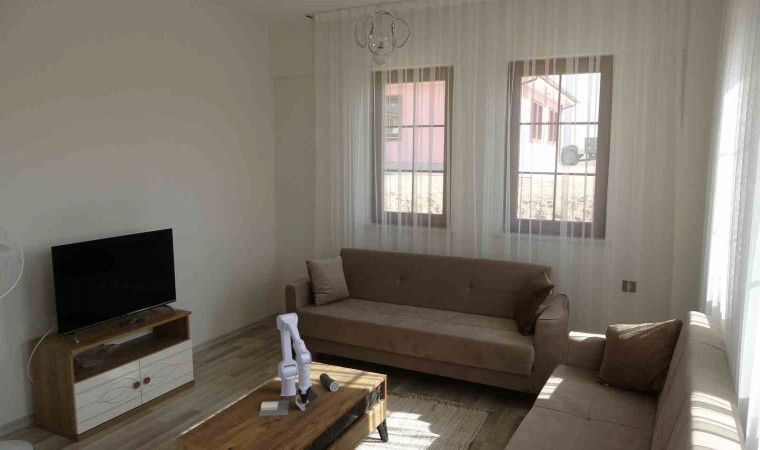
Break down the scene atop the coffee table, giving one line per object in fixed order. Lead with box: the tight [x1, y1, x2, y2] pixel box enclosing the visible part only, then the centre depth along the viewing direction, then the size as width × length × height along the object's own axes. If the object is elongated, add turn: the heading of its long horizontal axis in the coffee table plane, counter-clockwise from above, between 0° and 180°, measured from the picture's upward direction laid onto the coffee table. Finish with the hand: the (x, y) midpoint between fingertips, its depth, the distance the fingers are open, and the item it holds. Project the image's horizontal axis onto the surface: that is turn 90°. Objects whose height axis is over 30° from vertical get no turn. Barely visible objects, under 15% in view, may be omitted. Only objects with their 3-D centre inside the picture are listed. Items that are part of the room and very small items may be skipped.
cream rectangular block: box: [260, 401, 278, 411], centre depth 285 cm, size 6×2×8 cm
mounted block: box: [295, 386, 319, 411], centre depth 287 cm, size 8×10×6 cm
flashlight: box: [318, 372, 340, 392], centre depth 314 cm, size 15×5×5 cm, turn 31°
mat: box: [258, 400, 290, 417], centre depth 286 cm, size 16×14×1 cm
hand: (304, 401), depth 287 cm, fingers open, 4 cm apart
